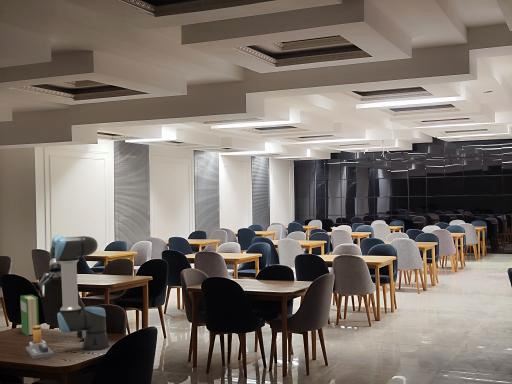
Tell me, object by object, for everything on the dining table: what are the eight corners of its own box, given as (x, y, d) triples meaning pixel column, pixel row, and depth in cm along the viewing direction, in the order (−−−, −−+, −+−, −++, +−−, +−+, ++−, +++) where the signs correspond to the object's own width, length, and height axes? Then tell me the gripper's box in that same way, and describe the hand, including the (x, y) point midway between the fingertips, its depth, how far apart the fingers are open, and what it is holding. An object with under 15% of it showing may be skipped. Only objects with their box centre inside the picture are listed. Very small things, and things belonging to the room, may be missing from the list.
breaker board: (25, 350, 383) (25, 340, 384) (45, 347, 389) (45, 337, 389) (33, 359, 360) (32, 348, 361) (54, 356, 366) (53, 345, 366)
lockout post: (43, 346, 383) (42, 325, 383) (36, 347, 379) (35, 327, 379) (39, 345, 386) (38, 324, 386) (32, 347, 382) (31, 326, 382)
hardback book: (39, 334, 428) (37, 297, 429) (27, 336, 425) (26, 298, 425) (33, 330, 444) (31, 294, 444) (21, 331, 440) (20, 295, 440)
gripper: (76, 269, 419) (76, 296, 404) (35, 272, 413) (34, 299, 398) (76, 261, 414) (76, 288, 399) (34, 264, 408) (32, 291, 393)
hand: (55, 294), depth 399 cm, fingers open, 13 cm apart
